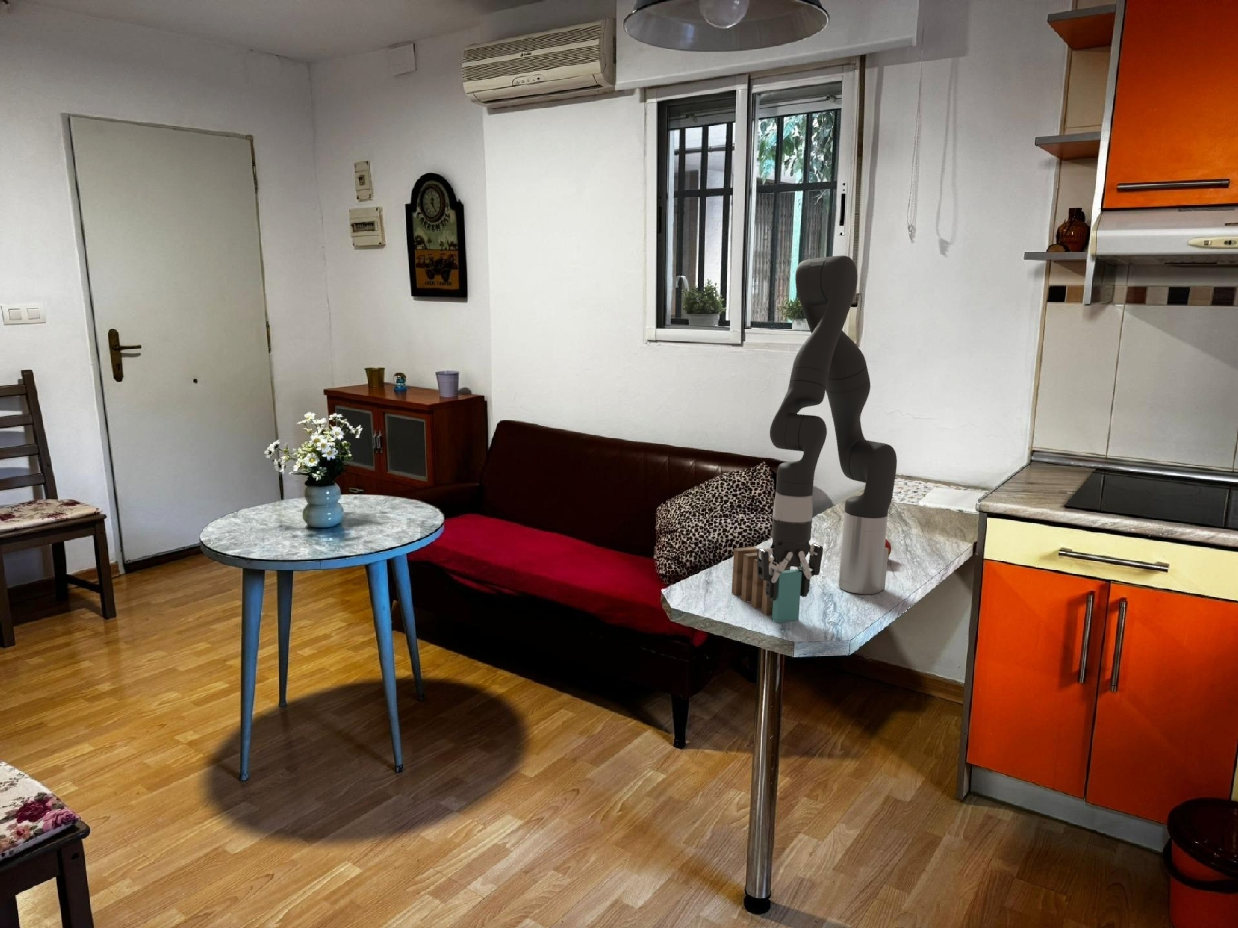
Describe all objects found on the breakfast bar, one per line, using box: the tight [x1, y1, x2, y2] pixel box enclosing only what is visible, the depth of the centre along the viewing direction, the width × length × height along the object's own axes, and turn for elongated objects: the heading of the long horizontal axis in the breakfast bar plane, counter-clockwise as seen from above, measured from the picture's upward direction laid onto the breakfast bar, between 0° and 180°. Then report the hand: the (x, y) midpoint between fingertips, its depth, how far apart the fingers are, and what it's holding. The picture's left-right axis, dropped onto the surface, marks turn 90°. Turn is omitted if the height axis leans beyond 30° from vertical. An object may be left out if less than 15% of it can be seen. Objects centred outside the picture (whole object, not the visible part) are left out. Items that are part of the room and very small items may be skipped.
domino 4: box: [761, 564, 791, 616], centre depth 173 cm, size 5×2×10 cm, turn 111°
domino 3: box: [750, 557, 778, 610], centre depth 177 cm, size 5×2×10 cm, turn 111°
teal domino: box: [771, 568, 802, 624], centre depth 169 cm, size 5×2×10 cm, turn 111°
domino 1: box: [731, 546, 759, 596], centre depth 184 cm, size 5×2×10 cm, turn 111°
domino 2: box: [740, 553, 757, 602], centre depth 181 cm, size 5×2×10 cm, turn 111°
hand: (787, 597), depth 169 cm, fingers open, 6 cm apart
